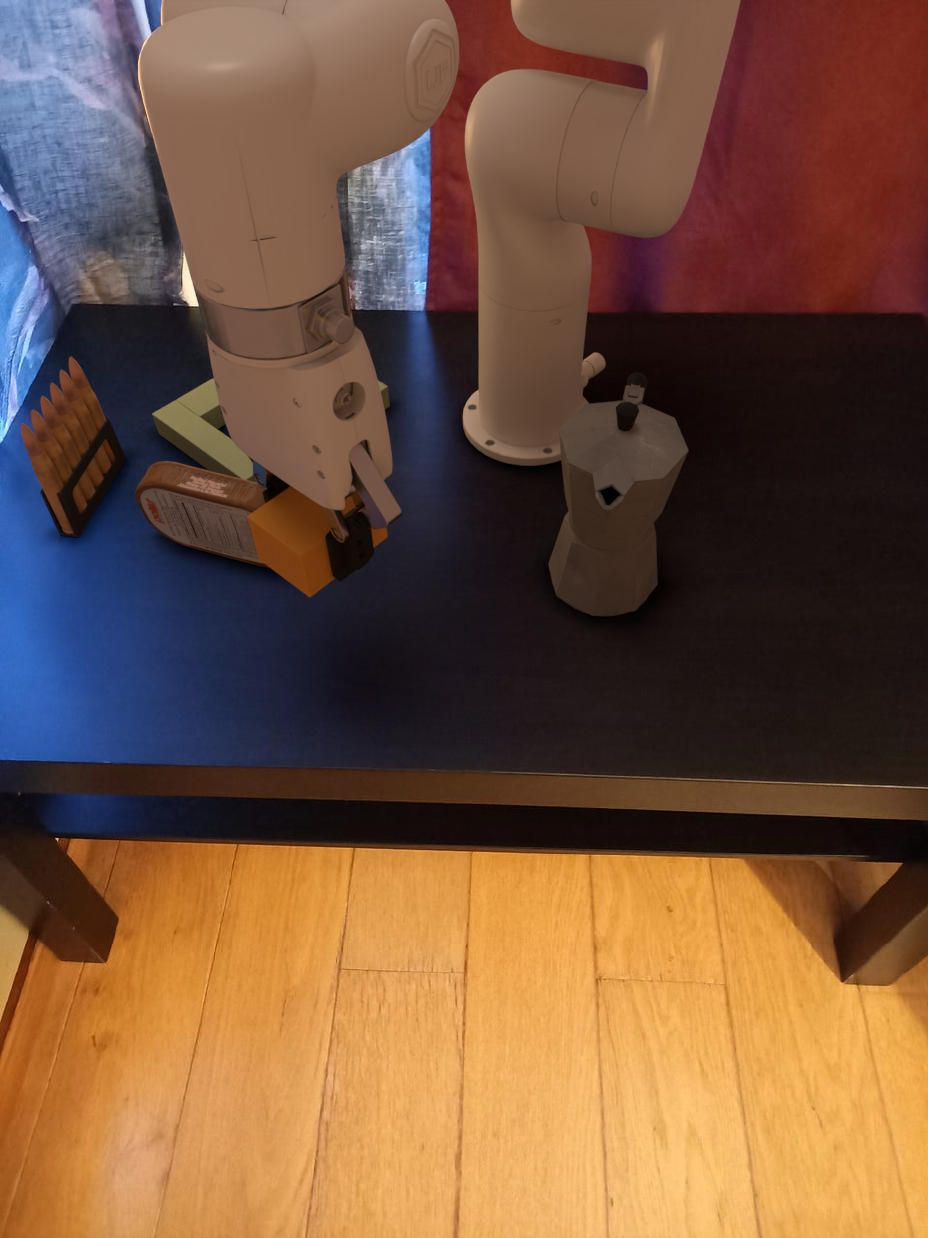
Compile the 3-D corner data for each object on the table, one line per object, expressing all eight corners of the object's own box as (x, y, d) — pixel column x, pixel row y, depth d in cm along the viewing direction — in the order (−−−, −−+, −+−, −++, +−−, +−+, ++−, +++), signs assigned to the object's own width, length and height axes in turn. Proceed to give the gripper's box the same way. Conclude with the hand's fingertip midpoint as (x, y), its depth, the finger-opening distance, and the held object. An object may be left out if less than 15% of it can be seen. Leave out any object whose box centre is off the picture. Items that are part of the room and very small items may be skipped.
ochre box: (310, 598, 59) (300, 555, 56) (258, 559, 61) (246, 516, 58) (388, 537, 62) (383, 493, 59) (336, 502, 64) (329, 458, 61)
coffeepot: (646, 648, 75) (684, 480, 61) (530, 625, 76) (541, 457, 62) (670, 514, 84) (709, 342, 70) (567, 496, 86) (583, 325, 72)
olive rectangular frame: (297, 350, 100) (294, 330, 98) (390, 406, 94) (388, 386, 92) (158, 433, 92) (151, 413, 90) (250, 500, 86) (244, 480, 84)
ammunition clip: (78, 538, 83) (27, 432, 74) (59, 535, 83) (6, 430, 74) (126, 457, 90) (85, 351, 80) (108, 455, 90) (65, 349, 81)
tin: (316, 557, 81) (301, 486, 75) (300, 584, 80) (284, 513, 73) (164, 518, 85) (137, 446, 78) (145, 543, 83) (116, 471, 76)
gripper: (450, 331, 45) (458, 577, 60) (225, 213, 53) (280, 458, 67) (336, 407, 42) (374, 649, 56) (113, 270, 49) (197, 515, 64)
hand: (323, 543), depth 61 cm, fingers closed on ochre box, 5 cm apart
